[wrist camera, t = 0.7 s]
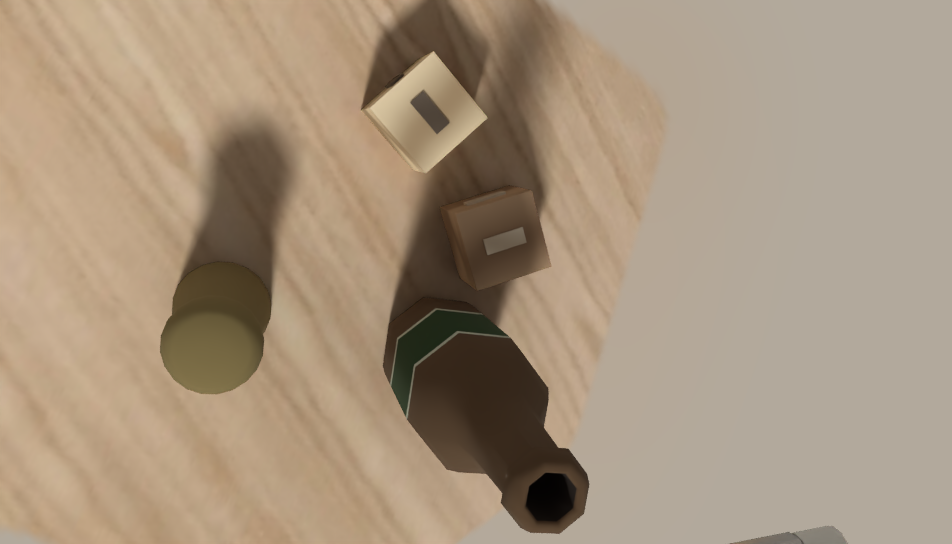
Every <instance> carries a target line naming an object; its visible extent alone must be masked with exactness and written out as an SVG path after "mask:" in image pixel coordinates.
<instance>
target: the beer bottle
mask: <svg viewBox="0 0 952 544" xmlns="http://www.w3.org/2000/svg"><path fill="white" fill-rule="evenodd" d="M383 368H384V372H385V375H386V377H387V379H388V381H389V383H390V385H391V387H392V389H393V391H394V393H395V395H396V398H397V400H398V402H399V404H400V406H401V408H402V410H403V412H404V414H405V416H406V418H407V420H408V421H409V423H410V424H411V425H412V427H413V428H414V429H415V431H416V432H417V433H418V434H419V436H420V437H421V438H422V439H423V440H424V442H425V443H426V444H427V445H428V447H429V448H430V449H431V450H432V452H433V453H434V454H435V455H436V457H437V458H438V459H439V460H440V461H441V463H442V464H443V465H444V466H445V468H446V469H447V470H451V471H456V472H464V473H481V474H487V475H488V476H489V478H490V479H491V480H492V481H493V482H494V484H495V485H496V486H497V487H498V488H499V490H500V491H501V492H502V493H503V494H502V500H501V504H502V505H503V506H504V508H505V509H506V510H507V511H508V513H509V514H510V515H511V516H512V517H513V519H514V520H515V521H516V523H517V524H518V525H519V526H520V528H522V529H524V530H526V531H528V532H530V533H556V534H559V533H561V532H562V531H563V530H565V529H566V528H567V527H568V526H569V525H570V524H572V523H573V522H574V521H576V520H577V519H578V518H579V517H580V516H582V515H583V514H584V510H585V505H586V499H587V494H588V488H589V481H588V476H587V473H586V472H585V471H584V469H583V468H582V467H581V465H580V464H579V463H578V461H577V460H576V458H575V457H574V456H573V454H572V453H571V452H570V450H569V449H566V448H558V447H557V445H556V444H555V443H554V441H553V440H552V438H551V437H550V436H549V434H548V433H547V432H546V430H545V429H544V423H545V417H546V411H547V406H548V387H547V386H546V385H545V383H544V382H543V380H542V379H541V378H540V376H539V375H538V374H537V372H536V371H535V370H534V368H533V367H532V366H531V364H530V363H529V361H528V360H527V359H526V357H525V356H524V355H523V353H522V352H521V351H520V349H519V348H518V347H517V345H516V344H515V343H514V342H513V340H512V339H511V338H510V337H509V336H508V335H506V334H505V333H504V332H503V331H502V330H501V329H499V328H498V327H497V326H496V325H495V324H493V323H492V322H491V321H490V320H489V319H488V318H486V317H485V316H484V315H483V314H482V313H481V312H479V311H478V310H477V309H476V308H475V307H473V306H472V305H470V304H469V303H467V302H462V301H453V300H444V299H436V298H427V297H423V298H422V299H421V300H420V301H418V302H417V303H416V304H414V305H413V306H412V307H410V308H409V309H408V310H407V311H405V312H404V313H403V314H401V315H400V316H399V317H397V318H396V319H395V320H394V321H392V322H391V323H390V324H389V329H388V336H387V342H386V349H385V356H384V363H383Z"/></svg>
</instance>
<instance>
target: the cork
mask: <svg viewBox="0 0 952 544" xmlns="http://www.w3.org/2000/svg"><path fill="white" fill-rule="evenodd" d="M270 316H271V301H270V297H269V293H268V290H267V288H266V287H265V285H264V284H263V282H262V281H261V279H260V278H259V277H258V276H257V275H256V274H254V273H253V272H252V271H250V270H249V269H248V268H246V267H243V266H240V265H238V264H235V263H230V262H214V263H210V264H205V265H202V266H200V267H198V268H197V269H195V270H193V271H192V272H190V273H188V275H187V276H186V277H185V278H184V279H183V280H182V281H181V283H180V284H179V285H178V287H177V290H176V292H175V295H174V297H173V306H172V316H171V317H170V318H169V319H168V321H167V322H166V325H165V327H164V330H163V332H162V335H161V344H160V353H161V356H162V359H163V363H164V366H165V368H166V369H167V370H168V372H169V373H170V375H171V376H172V377H173V379H174V380H175V381H176V382H178V383H179V384H181V385H182V386H183V387H185V388H186V389H188V390H191V391H194V392H198V393H201V394H220V393H223V392H227V391H231V390H233V389H235V388H236V387H238V386H240V385H241V384H243V383H244V382H246V381H247V380H248V379H249V378H250V377H251V376H252V375H253V373H254V372H255V371H256V370H257V368H258V366H259V363H260V361H261V359H262V356H263V346H264V337H263V333H264V332H265V330H266V327H267V325H268V323H269V320H270Z"/></svg>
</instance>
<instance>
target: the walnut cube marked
mask: <svg viewBox="0 0 952 544" xmlns="http://www.w3.org/2000/svg"><path fill="white" fill-rule="evenodd" d="M440 211H441V214H442V218H443V221H444V225H445V228H446V232H447V235H448V239H449V242H450V246H451V249H452V253H453V256H454V260H455V263H456V267H457V270H458V274H459V277H460V278H461V279H462V280H463V281H465V282H466V283H467V284H469V285H470V286H471V287H473V288H474V289H475V290H477V291H480V290H483V289H486V288H489V287H492V286H495V285H497V284H500V283H503V282H506V281H509V280H512V279H515V278H518V277H521V276H524V275H527V274H530V273H533V272H536V271H539V270H542V269H545V268H548V267H551V263H550V259H549V255H548V251H547V247H546V243H545V239H544V236H543V232H542V228H541V224H540V220H539V216H538V212H537V209H536V205H535V201H534V197H533V193H532V190H528V189H524V188H519V187H514V186H510V185H509V186H506V187H502V188H499V189H496V190H493V191H490V192H486V193H483V194H480V195H477V196H474V197H470V198H467V199H464V200H461V201H457V202H454V203H451V204H448V205H445V206H441V207H440Z"/></svg>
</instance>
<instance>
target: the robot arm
mask: <svg viewBox="0 0 952 544" xmlns="http://www.w3.org/2000/svg"><path fill="white" fill-rule="evenodd" d="M730 544H848V543H847V541H846V540H845V538H844V537H843V535H842V533H841V532H840V531H838V530H837V529H836V528H835V527H833V526H824V527H819V528H814V529H810V530H804V531H799V532H794V533H790V532H786V533H781V534H777V535H772V536H767V537H761V538H756V539H751V540H746V541H741V542H736V543H730Z"/></svg>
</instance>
